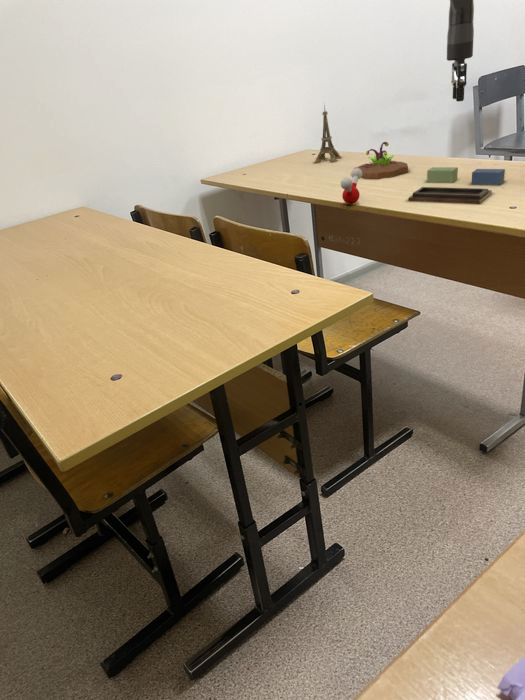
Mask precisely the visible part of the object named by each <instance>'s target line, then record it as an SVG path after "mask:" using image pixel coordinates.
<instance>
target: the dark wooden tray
mask: <svg viewBox="0 0 525 700" xmlns="http://www.w3.org/2000/svg"><path fill="white" fill-rule="evenodd" d="M492 191H493V190H492V189H489V188H480V187H479V188H477V187H476V188H475V187H440V186H439V187H437V186H435V187H434V186H421V187H420V188H418V189H417V190H415V191H413V192H412V194H411V196H409V197H408V202H420V203H421V202H425V203H447V204H450V203H451V204H471V205H481V203H483V202H484V201H485V200H486V199H487V198H488V197H489V196H491V195H492V193H493V192H492Z"/></svg>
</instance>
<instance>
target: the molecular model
mask: <svg viewBox="0 0 525 700" xmlns="http://www.w3.org/2000/svg"><path fill="white" fill-rule="evenodd" d="M354 168H355V169H354ZM354 168H353V169H352V170H351V172H350V176H351V177H352V178H350V177H347V176H346V177H344V178H342V179H341V181H340V187H341V188H342V189H343V191H342V194H341V195H342V200H343V201H344V202H345V203H346V204H347V205H354V204H355V203H357V202H358V201H359V199H360V196H361V195H360V191H359V189H358V188H357V186H358V181H359V180H360V179H361V178H363V177H362V170H361V169H359V168H356V167H354Z"/></svg>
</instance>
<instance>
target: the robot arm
mask: <svg viewBox="0 0 525 700" xmlns="http://www.w3.org/2000/svg"><path fill="white" fill-rule="evenodd" d="M448 8H449V9H448V23H447V24H448V26H447V27H448V29H447V33H446V35H447V36H446V60H447V62H452V61H453V62H452V64H451V85H452V99H453V100H455V101H456V102H463V101H464V100H465V88H466V86H467V83H468V82H467V69H468V64H467V62H466V59H471V58H472V57H473V56H474V39H475V37H474V36H475V29H474V28H475V27H474V17H475V16H474V15H475V3H474V0H449V7H448Z"/></svg>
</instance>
